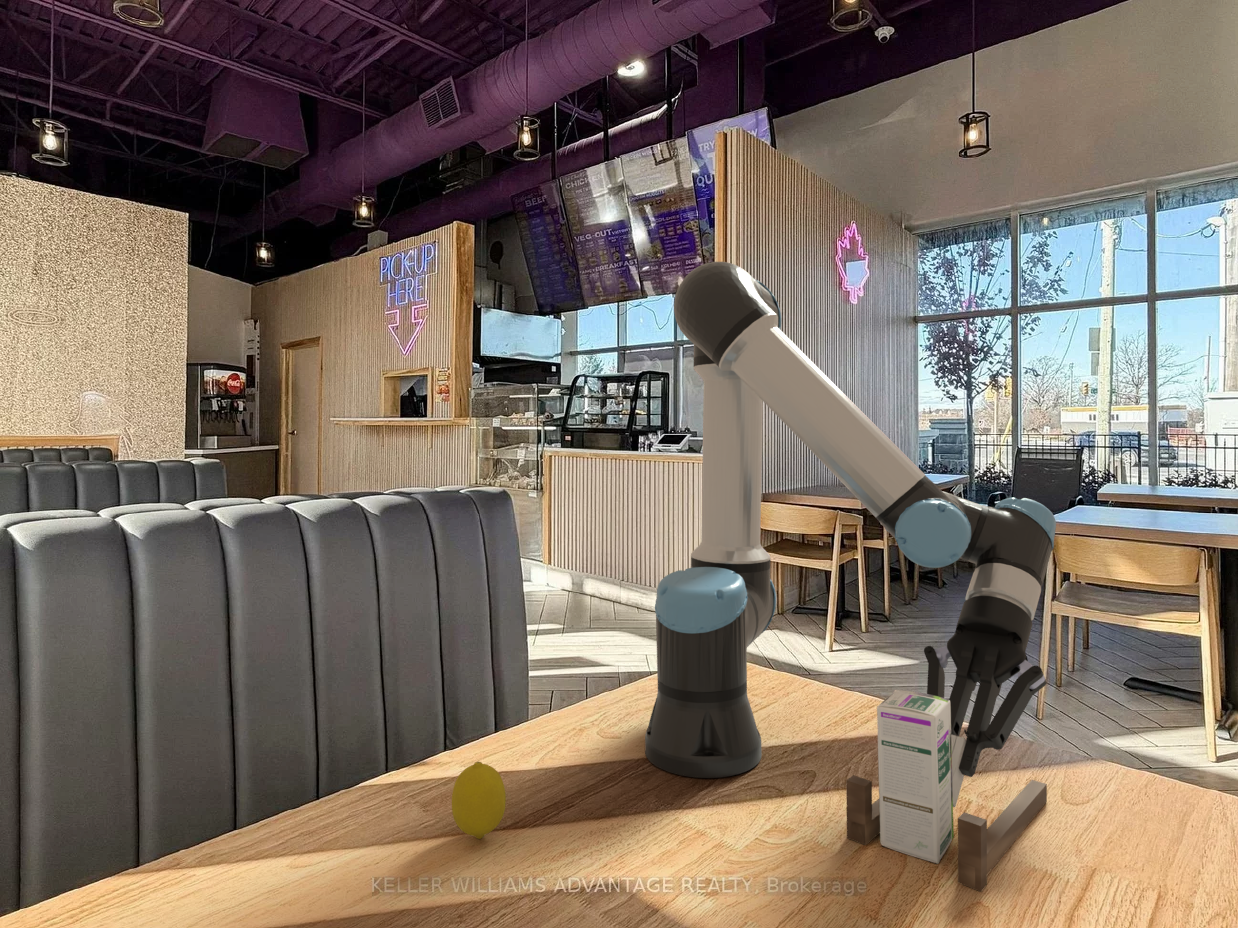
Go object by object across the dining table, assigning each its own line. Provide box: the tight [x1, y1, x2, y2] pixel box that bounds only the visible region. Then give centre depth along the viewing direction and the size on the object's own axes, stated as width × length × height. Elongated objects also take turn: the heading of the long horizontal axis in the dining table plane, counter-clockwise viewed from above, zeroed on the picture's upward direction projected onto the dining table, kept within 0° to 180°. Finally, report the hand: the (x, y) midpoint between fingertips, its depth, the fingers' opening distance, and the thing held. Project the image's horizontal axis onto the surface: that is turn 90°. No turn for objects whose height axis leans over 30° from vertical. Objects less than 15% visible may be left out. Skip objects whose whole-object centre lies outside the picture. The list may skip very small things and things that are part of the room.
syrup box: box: [876, 689, 955, 865], centre depth 73 cm, size 6×6×14 cm
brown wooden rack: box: [845, 774, 1048, 893], centre depth 78 cm, size 13×22×6 cm, turn 135°
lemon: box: [451, 761, 507, 840], centre depth 76 cm, size 6×6×8 cm
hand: (944, 798), depth 76 cm, fingers closed
